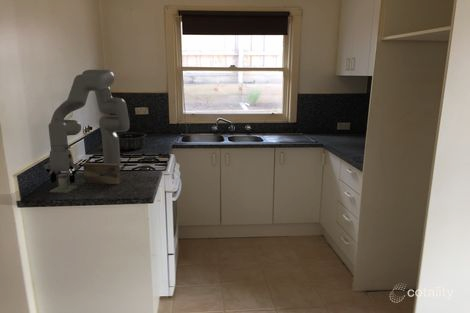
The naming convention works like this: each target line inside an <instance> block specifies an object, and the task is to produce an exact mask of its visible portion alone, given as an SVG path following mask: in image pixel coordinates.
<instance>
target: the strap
mask: <svg viewBox="0 0 470 313" xmlns="http://www.w3.org/2000/svg"><path fill="white" fill-rule="evenodd" d="M114 170H115V168H110V169H108V170H106V171H104V172H102V173H100V176H106V175H107V174H109V173H111V172H113V171H114Z"/></svg>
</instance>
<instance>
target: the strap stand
mask: <svg viewBox="0 0 470 313" xmlns="http://www.w3.org/2000/svg"><path fill="white" fill-rule="evenodd" d="M82 167H83V177H84V178H83V179H84V180H83V181H84V183H85V184H88V183H89V184H104V185H119V184H120V183H121V177H120V176H121V175H120V168H119V164H105V163H104V162H100V163H98V162H84V163H83V164H82ZM110 168H115V170H114V171H113V172H111V173H109V174H107V175H106V176H100V173H102V172H104V171H106V170H108V169H110Z"/></svg>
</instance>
